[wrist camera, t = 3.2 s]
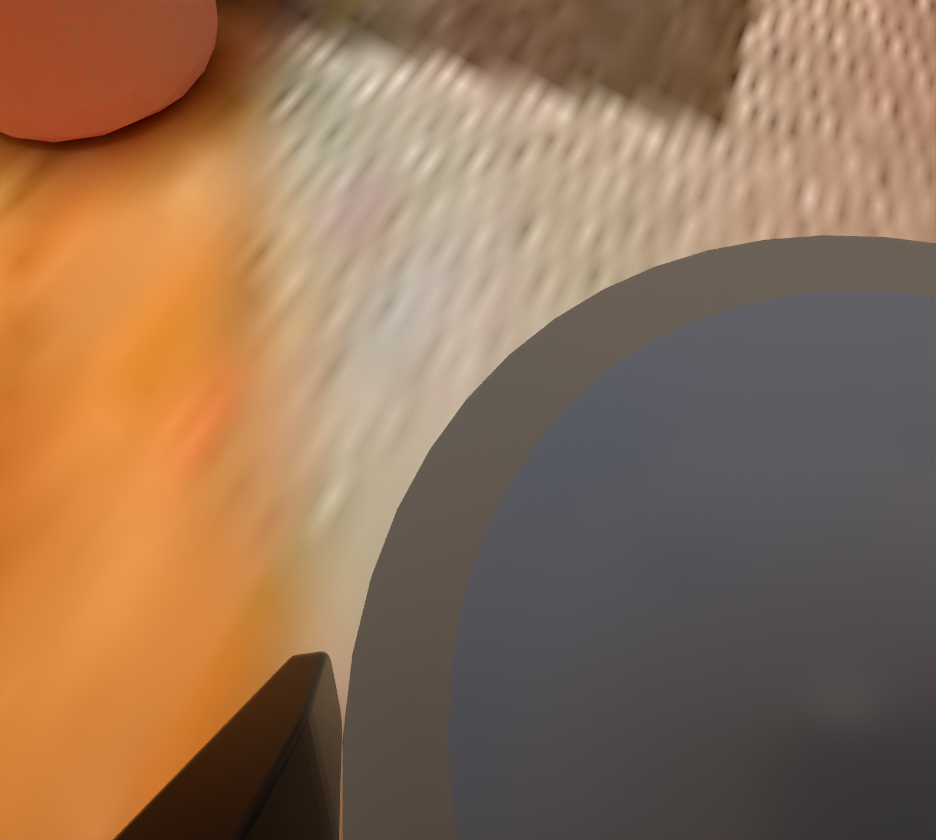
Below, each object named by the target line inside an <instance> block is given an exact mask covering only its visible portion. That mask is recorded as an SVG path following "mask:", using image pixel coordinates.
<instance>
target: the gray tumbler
mask: <svg viewBox="0 0 936 840" xmlns="http://www.w3.org/2000/svg"><path fill="white" fill-rule="evenodd" d="M343 840H936V243H927V242H919V241H911V240H903V239H895V238H887V237H859V236H811V237H798V238H785V239H771V240H762V241H757V242H751V243H746V244H740V245H735V246H730V247H724V248H719V249H713V250H708V251H705V252H702V253H698V254H695V255H692V256H689V257H685V258H682V259H679V260H676V261H672V262H669V263H666V264H663V265H659V266H656V267H653V268H651V269H649V270H646V271H644V272H642V273H640V274H637V275H635V276H633V277H631V278H628V279H626V280H624V281H622V282H619V283H617V284H615V285H613V286H610V287H608V288H606V289H604V290H602V291H600V292H598V293H597V294H595V295H593V296H592V297H590V298H588V299H587V300H585V301H584V302H582V303H580V304H579V305H577V306H575V307H574V308H572V309H570V310H569V311H567V312H565V313H564V314H562V315H560V316H559V317H557V318H555V319H554V320H553V321H551V322H550V323H549V324H548V325H546V326H545V327H544V328H543V329H541V330H540V331H539V332H538V333H536V334H535V335H534V336H532V337H531V338H530V339H529V340H527V341H526V342H525V343H524V344H522V345H521V346H520V347H519V348H517V349H516V350H515V351H514V352H512V353H511V354H510V355H509V356H508V357H507V358H506V359H505V360H504V361H503V362H502V363H501V364H500V365H499V366H498V367H497V368H496V369H495V370H494V371H493V372H492V373H491V374H490V375H489V377H488V378H487V379H486V380H485V381H484V382H483V383H482V384H481V385H480V386H479V387H478V388H477V389H476V390H475V391H474V392H473V393H472V394H471V395H470V396H469V397H468V398H467V400H466V401H465V402H464V404H463V405H462V406H461V408H460V409H459V411H458V412H457V413H456V415H455V416H454V417H453V419H452V420H451V421H450V423H449V424H448V426H447V427H446V428H445V430H444V431H443V432H442V434H441V435H440V437H439V438H438V439H437V441H436V442H435V443H434V445H433V446H432V447H431V449H430V450H429V452H428V454H427V456H426V458H425V459H424V461H423V463H422V465H421V467H420V469H419V471H418V472H417V474H416V476H415V478H414V480H413V482H412V483H411V485H410V487H409V489H408V491H407V493H406V494H405V496H404V498H403V500H402V502H401V504H400V506H399V507H398V509H397V512H396V514H395V517H394V519H393V522H392V525H391V527H390V530H389V533H388V535H387V538H386V540H385V543H384V546H383V548H382V551H381V553H380V556H379V559H378V561H377V564H376V566H375V569H374V572H373V574H372V577H371V581H370V585H369V589H368V593H367V597H366V601H365V605H364V609H363V614H362V618H361V622H360V626H359V630H358V634H357V638H356V642H355V646H354V651H353V655H352V664H351V672H350V681H349V689H348V698H347V707H346V715H345V724H344V733H343Z"/></svg>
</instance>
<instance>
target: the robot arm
mask: <svg viewBox="0 0 936 840" xmlns="http://www.w3.org/2000/svg"><path fill="white" fill-rule="evenodd" d="M341 742H342V722H341V712H340V706H339V700H338V695H337V690H336V685H335V679H334V674H333V669H332V664H331V660H330V657H329V655H328V654H327V653H326V652H314V653H307V654H300V655H294V656H292V657H291V658H290V659H288V660H287V662H286V663H285V664H284V665H283V666H282V667H281V668H280V669H279V670H278V671H277V672H276V673H275V674H274V675H273V676H272V677H271V678H270V679H269V680H268V681H267V682H266V683H265V684H264V685H263V686H262V687H261V688H260V689H259V690H258V691H257V692H256V693H255V694H254V695H253V696H252V697H251V698H250V700H249V701H248V702H247V703H246V704H245V705H244V706H243V707H242V708H241V709H240V710H239V711H238V712H237V713H236V714H235V715H234V716H233V717H232V718H231V719H230V720H229V721H228V722H227V723H226V724H225V725H224V726H223V727H222V728H221V729H220V730H219V731H218V732H217V733H216V734H215V735H214V736H213V738H212V739H211V740H210V741H209V742H208V743H207V744H206V745H205V746H204V747H203V748H202V749H201V750H200V751H199V752H198V753H197V754H196V755H195V756H194V757H193V758H192V759H191V760H190V761H189V762H188V763H187V764H186V765H185V766H184V767H183V768H182V769H181V770H180V771H179V772H178V773H177V774H176V775H175V777H174V778H173V779H172V780H171V781H170V782H169V783H168V784H167V785H166V786H165V787H164V788H163V789H162V790H161V791H160V792H159V793H158V794H157V795H156V796H155V797H154V798H153V799H152V800H151V801H150V802H149V803H148V804H147V805H146V806H145V807H144V808H143V809H142V810H141V811H140V812H139V813H138V815H137V816H136V817H135V818H134V819H133V820H132V821H131V822H130V823H129V824H128V825H127V826H126V827H125V828H124V829H123V830H122V831H121V832H120V833H119V834H118V835H117V836H116V837H115V838H114V839H113V840H339V816H340V779H341Z"/></svg>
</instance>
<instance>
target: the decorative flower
mask: <svg viewBox="0 0 936 840" xmlns="http://www.w3.org/2000/svg"><path fill="white" fill-rule="evenodd" d="M217 27H218V16H217V8H216V0H0V132H1V133H4V134H7V135H10V136H12V137H15V138H23V139H31V140H40V141H48V142H59V141H66V140H74V139H81V138H88V137H95V136H102V135H106V134H108V133H110V132H113V131H115V130H117V129H120V128H122V127H124V126H127V125H129V124H131V123H134V122H136V121H138V120H141V119H143V118H145V117H148V116H150V115H153V114H155V113H157V112H160V111H161V110H163V109H164V108H166V107H167V106H169V105H170V104H172V103H173V102H175V101H176V100H178V99H179V98H181V97H182V96H184V94H185V93H186V92H187V91H188V90H189V89H190V87H191V86H192V85H193V84H194V83H195V81H196V80H197V79H198V78H199V77H200V76H201V74H202V73H203V72H204V71H205V69H206V66H207V64H208V62H209V60H210V57H211V55H212V53H213V51H214V49H215V46H216V36H217Z"/></svg>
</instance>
